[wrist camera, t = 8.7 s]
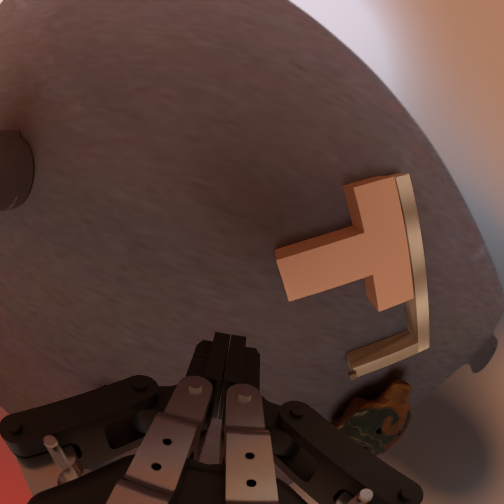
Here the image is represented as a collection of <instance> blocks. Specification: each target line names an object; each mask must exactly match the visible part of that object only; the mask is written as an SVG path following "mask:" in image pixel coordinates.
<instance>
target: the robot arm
mask: <svg viewBox="0 0 504 504" xmlns="http://www.w3.org/2000/svg"><path fill="white" fill-rule="evenodd" d="M32 179H33V158H32V153H31V150H30V148H29V146H28V144H27V143H26V141H24V140H23V139H22V138H21V137H20V132H19V131H15V130H0V212H1V211H2V212H3V211H7V210H9V209H13V208H16V207H18V206H20V205H21V204H22V203H23V202H24V201H25V199H26V198H27V196H28V193H29V191H30V188H31V184H32ZM229 340H230V334H225V333H219V332H215V336H214V339H213V342H212V341H207V340H202V341H201V342H200V343H199V344H197V346H196V349H195V352H194V354H193V358H192V360H191V363H190V366H189V368H188V371H187V374H186V377H184V378H182V379H181V380H180V381H179V383H178V384H177V385H174V386H158V384H157V383H156V381H155V380H153V379H152V378H150V377H148V376H143V375H136V376H132V377H129V378H126V379H124V380H121V381H118V382H115V383H112V384H110V385H107V386H104V387H101V388H98V389H95V390H92V391H89V392H86V393H83V394H80V395H77V396H73V397H70V398H67V399H64V400H61V401H57V402H54V403H51V404H47V405H44V406H40V407H37V408H33V409H29V410H26V411H22V412H18V413H14V414H10V415H7V416H6V417H4V418H3V419H2V420H1V422H0V434H1V436H2V438H3V439H4V440H5V442H6V444H7V445H8V448H9V449H10V451H11V453H12V454H13V456H14V457H15V458H16V460H17V461H18V464H19V466H20V468H21V471H22V473H23V475H24V478H25V480H26V482H27V484H28V486H29V489H30V491H31V492H32V495H33V497H32V498H31V499H30V501H29V502H28V503H27V504H308V503H307V502H305V500H303V499H302V498H301V497H300V496H299V495H298V494H297V493H296V492H295V491H294V490H293V489H292V488H291V487H290V486H289V485H287V484H286V483H285V482H283V481H282V480H280V479H278V478H276V477H275V469H274V463H275V464H276V465H277V466H278V467H279V468H280V469H281V470H282V471H283V472H284V473H285V474H286V475H287V476H288V477H289V478H291V479H292V480H293V481H294V482H295V483H296V484H297V485H298V486H299V487H300V488H301V489H303V490H304V491H305V492H306V493H307V494H308V495H309V496H311V497H312V498H313V499H314V500H315V501H316V502H318V503H319V504H420V503H421V502H422V500H423V491H422V489H421V487H420V486H419V485H418V484H417V483H416V482H414V481H413V480H411V479H409V478H408V477H406V476H405V475H403V474H402V473H400V472H398V471H397V470H396V469H394V468H392V467H391V466H389V465H388V464H387V463H385V462H383V461H382V460H381V459H379V458H378V457H376V456H375V455H374V454H372V453H371V452H369V451H368V450H366V449H365V448H364V447H362V446H361V445H359V444H358V443H357V442H355V441H354V440H353V439H351V438H350V437H349V436H347V435H346V434H345V433H343V432H342V431H341V430H339V429H338V428H337V427H335V426H334V425H333V424H331V423H330V422H329V421H328V420H326V419H325V418H324V417H322V416H321V415H320V414H319V413H317V412H316V411H315V410H314V409H312V408H311V407H310V406H309V405H307V404H305V403H303V402H299V401H289V402H286V403H284V404H283V405H282V406H279V405H276V404H273V403H271V402H269V401H267V400H266V399H265V398H264V397H263V396H262V395H261V393H260V389H259V387H260V354H259V353H258V351H257V350H256V348H250V347H245V346H246V337H244V336H238V335H231V341H230V346H229ZM228 347H229V352H228ZM227 354H228V357H227ZM226 361H227V363H226ZM225 368H226V369H225ZM223 379H224V380H223ZM222 385H223V387H222ZM221 391H222V394H221ZM220 396H221V402H220ZM219 402H220V409H219V416H218V419H223V420H222V427H221V433H220V456H219V464H210V465H209V464H204V463H201V462H199V459H200V456H201V453H202V450H203V446H204V443H205V440H206V437H207V434H208V429H209V426H210V424H211V419H212V418H217V413H218V408H219ZM138 446H140V447H139V449H138V451H137V453H136V454H134V455H129V456H126V457H123V458H121V459H119V460H117V461H114V462H112V463H110V464H108V465H106V466H104V467H102V468H99V469H97V470H95V471H93V472H90V473H88V474H86V475H83V476H82V474H83V470H84V469H87V468H89V467H92V466H94V465H97V464H99V463H102V462H104V461H107V460H109V459H112V458H114V457H116V456H119V455H121V454H123V453H125V452H128V451H130V450H132V449H134V448H136V447H138Z"/></svg>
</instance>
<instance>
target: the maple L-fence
mask: <svg viewBox="0 0 504 504" xmlns="http://www.w3.org/2000/svg"><path fill="white" fill-rule="evenodd" d="M386 176H394V178H395V183H396V187H397V191H398V196H399V200H400V205H401V210H402V215H403V221H404V226H405V232H406V238H407V244H408V251H409V258H410V266H411V274H412V283H413V294H414V298H413V299H411V300H408V301H406V302H405V305H406V316H407V329H408V330H406V331H403V332H401V333H399V334H396V335H394V336H391V337H389V338H386V339H384V340H381V341H378V342H376V343H373V344H370V345H368V346H365V347H362V348H359V349H356V350H354V351H351V352H348V353H346V355H347V360H348V364H349V366H350V368H351V372H348V375H349V379H350V381H351V380H354V379H357V377H358V376H361V375H364V374H367V373H370V372H372V371H375V370H378V369H380V368H383V367H385V366H388V365H390V364H393V363H395V362H398V361H400V360H403V359H405V358H407V357H410V356H412V355H414V354H416V353H419V352H421V351H423V350H425V349H427V348H429V309H428V292H427V279H426V269H425V260H424V252H423V244H422V237H421V231H420V225H419V219H418V213H417V208H416V203H415V198H414V193H413V189H412V184H411V180H410V176H409V174H405V173H394V174H390V175H386Z"/></svg>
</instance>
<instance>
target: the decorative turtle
mask: <svg viewBox="0 0 504 504" xmlns="http://www.w3.org/2000/svg"><path fill="white" fill-rule="evenodd" d="M411 390H412V387H411V386H410V385H409V384H408V383H406V382H404V381H402V380H397V379H395V380H393V381H392V382H391V383H390V384H389V385H388V386H387V388H386V389H385V390H384V391H383V392H382V394H381V395H380V396H379V397H378V398H376V399H375V400H370V401H368V400H366V399H364V398H361V397H354V398H353V399H352V400H351V401H350V403H349V404H348V406H347V408H346V410H345V412H344V413H343V415H342V417H335V418H334V419H333V421H332V423H331V424H333V425H334V426H335V427H337V428H338V429H339V430H341V431H342V432H343V433H345V434H346V435H347V436H349V437H350V438H351V439H353V440H354V441H355V442H357V443H358V444H359V445H361V446H362V447H364V448H365V449H366V450H368V451H369V452H371V453H372V454H374V455H375V456H377V455H380V454H382V453H384V452H385V451H387V450H388V449H389V448H391V447H392V446H393V445H394V444H395V443H396V442H397V441H398V440H399V439H400V438H401V436H402V435H403V433H404V432H405V430H406V429H407V427H408V425H409V421H410V417H411V410H410V407H409V405H408V403H407V401H408V398H409V395H410V393H411Z"/></svg>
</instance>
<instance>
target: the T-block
mask: <svg viewBox="0 0 504 504" xmlns="http://www.w3.org/2000/svg"><path fill="white" fill-rule="evenodd" d="M343 190H344V194H345V197H346V201H347V205H348V209H349V213H350V217H351V221H352V225H353V226H350V227H346V228H343V229H340V230H337V231H334V232H330V233H327V234H324V235H321V236H317V237H314V238H311V239H308V240H304V241H301V242H298V243H295V244H291V245H288V246H285V247H282V248H278V249H275V250H274V251H275V256H276V261H277V264H278V267H279V271H280V274H281V277H282V280H283V284H284V287H285V290H286V293H287V296H288V300H289V301H293V300H296V299H299V298H303V297H306V296H309V295H312V294H316V293H319V292H322V291H325V290H328V289H331V288H335V287H338V286H341V285H344V284H347V283H350V282H353V281H356V280H359V279H362V278H364V282H365V287H366V293H367V298H368V299H369V300H370V301H371V303H372V304H373V305H374V306H375V308H376V309H377V310H378V311H379V312H380V311H382V310H385V309H388V308H390V307H393V306H396V305H398V304H401V303H403V302H406V301H408V300H411V299H413V298H414V294H413V283H412V274H411V266H410V258H409V251H408V244H407V238H406V232H405V226H404V221H403V215H402V210H401V205H400V200H399V196H398V191H397V187H396V183H395V178H394V176H375V177H372V178H368V179H364V180H361V181H357V182H354V183H350V184H347V185H343Z"/></svg>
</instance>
